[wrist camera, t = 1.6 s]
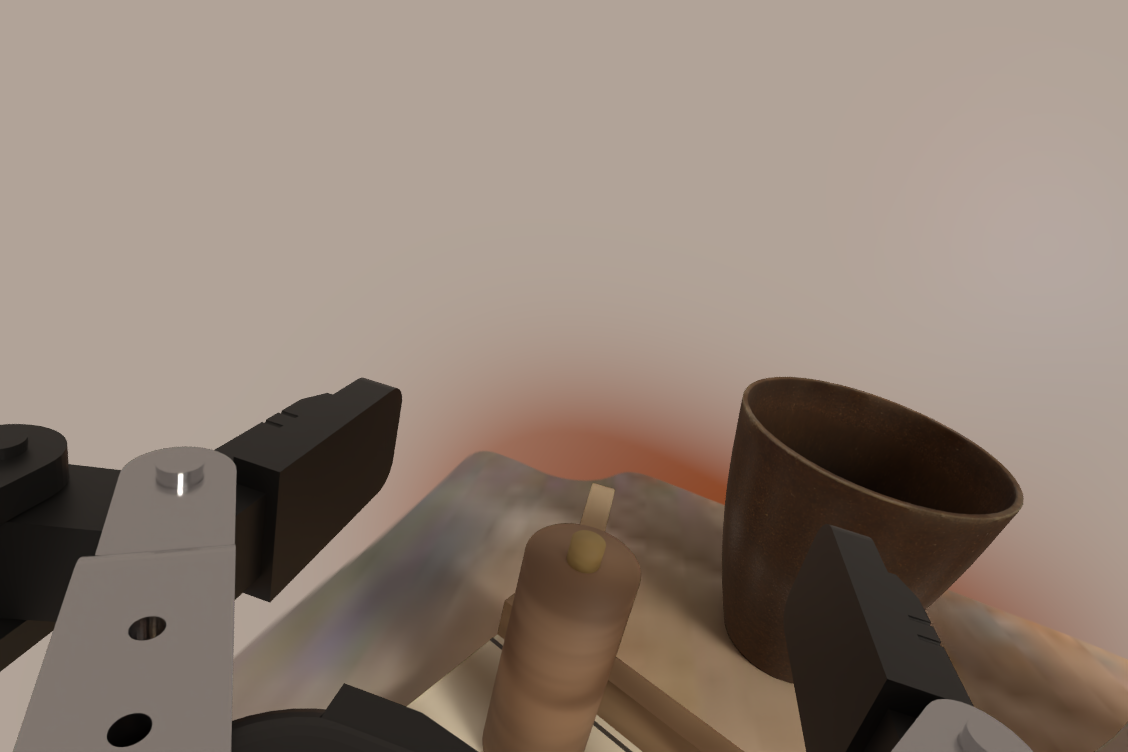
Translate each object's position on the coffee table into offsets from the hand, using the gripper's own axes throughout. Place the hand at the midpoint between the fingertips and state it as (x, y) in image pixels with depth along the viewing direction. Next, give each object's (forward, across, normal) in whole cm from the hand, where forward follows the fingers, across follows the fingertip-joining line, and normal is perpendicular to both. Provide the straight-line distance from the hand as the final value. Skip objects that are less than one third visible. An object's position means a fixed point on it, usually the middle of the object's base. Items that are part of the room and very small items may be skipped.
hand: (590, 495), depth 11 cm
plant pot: (+26, -14, +22) cm, 36 cm away
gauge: (+14, 0, +20) cm, 25 cm away
